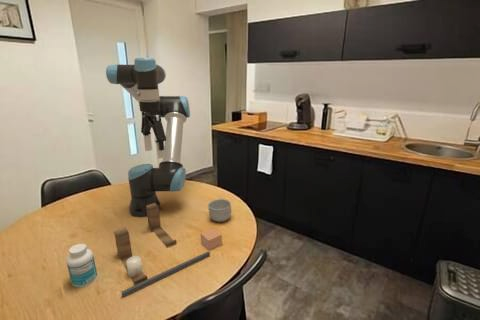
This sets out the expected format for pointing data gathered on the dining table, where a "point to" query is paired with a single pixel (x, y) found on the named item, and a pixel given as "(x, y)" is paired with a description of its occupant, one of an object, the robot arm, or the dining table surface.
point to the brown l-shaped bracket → (126, 251)
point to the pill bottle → (81, 265)
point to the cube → (211, 239)
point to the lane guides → (164, 274)
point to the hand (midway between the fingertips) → (154, 154)
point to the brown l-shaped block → (158, 225)
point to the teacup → (219, 209)
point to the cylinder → (134, 266)
